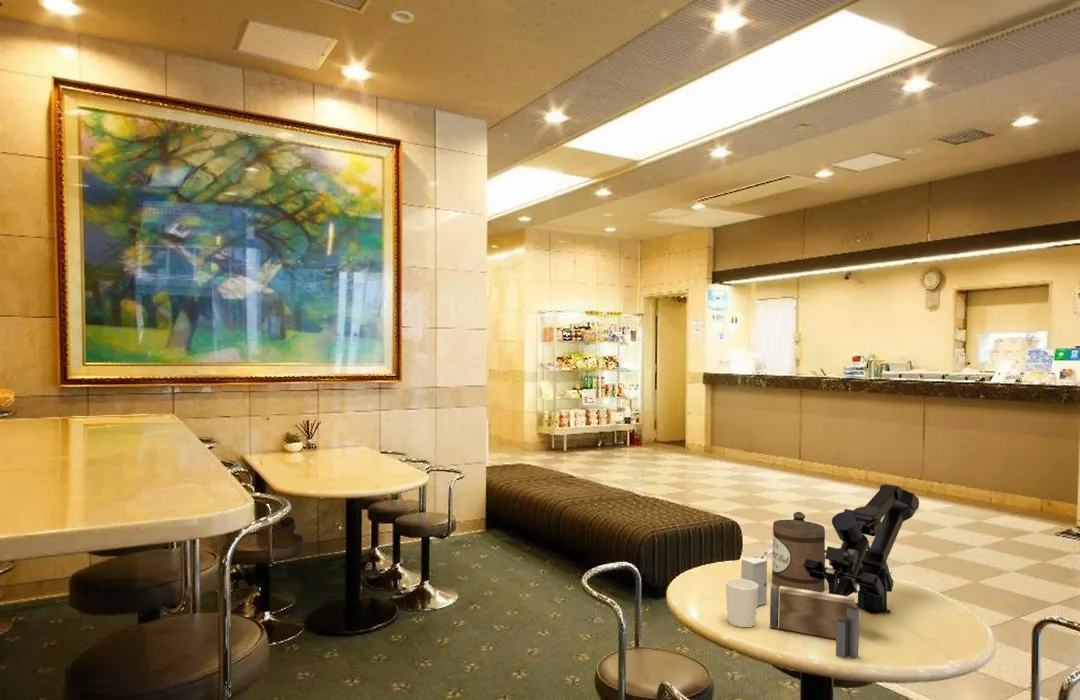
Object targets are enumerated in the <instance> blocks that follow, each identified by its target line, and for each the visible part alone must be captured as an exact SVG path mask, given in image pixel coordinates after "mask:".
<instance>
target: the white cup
mask: <svg viewBox="0 0 1080 700" xmlns="http://www.w3.org/2000/svg"><path fill="white" fill-rule="evenodd" d="M725 586H726V587H725V589H726V598H725V599H726V611H727V612H726V613H727V622H728V623H729V624H730V625H732V626H733V627H734V626H735V627H737V626H738V628H743V627H746V628H747V627H749V628H752V626H753V627H754V626H755V625H756V615H757V607H758V606H757V596H758V584H756V583H755V582H753V581H750V580H746V579H741V578H730V579H727V580H726V582H725ZM746 628H745V629H746Z"/></svg>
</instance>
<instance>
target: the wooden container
mask: <svg viewBox="0 0 1080 700" xmlns="http://www.w3.org/2000/svg"><path fill="white" fill-rule="evenodd" d="M792 515H793V516H792V517H793V519H777V520H774V521H773V524H772V556H771V557H772V558H771V569H772V570H771V578H772V580H771V582H773V583H774V584H775V585H777V586H779V587H780V586H784V587H791V588H797V589H803V590H810V591H816V592H822V593H823V592H824V591H825V588H826V585H825V584H826V579H823V580H818V579H814V578H811V577H810V576H809V575H808V573H807V572H806V570H805V568H804V566H803V563H804V561H805V560H806V559H807V558H812V559H816V560H819V561H821V562H822V563H823V565H824V567H826V559H825V556H826V547H825V546H826V545H825V543H826V540H825V536H826V530H825V529H826V528H825V527H824V526H823V525H821V524H819V523H815V522H812V521H806V520H805V518H806V515H805V514H804V513H803V512H801V511H796V512H794V513H793V514H792ZM773 583H772V584H773ZM774 584H773V585H774Z"/></svg>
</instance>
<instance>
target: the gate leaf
mask: <svg viewBox="0 0 1080 700" xmlns="http://www.w3.org/2000/svg"><path fill="white" fill-rule="evenodd" d="M855 599H856V597H853V596H841V595H835V594H829V592H823V591H822V592H816V591H810V590H803V589H797V588H791V587H784V586H780V588H779V586H777V585H774V584H771V585H770V601H769V602H770V605H769V606H770V607H769V626H770V627H771V628H774V629H775V628H778V629H782V630H788V631H793V632H797V633H798V632H799V633H802V634H808V635H809V634H810V635H813V636H814V635H815V636H819V637H825V638H832V639H836V625H837V620H838V619H842V620H845V621H847V607H849V606H853V607H856V605H855V603H856V600H855Z"/></svg>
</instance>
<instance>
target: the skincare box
mask: <svg viewBox="0 0 1080 700" xmlns="http://www.w3.org/2000/svg"><path fill="white" fill-rule="evenodd" d="M740 573H741V578H740V579H746V580H750V581H753V582H755V583H756V584H758V596H757V607H760V606H759V605H761V606H764V605H763V604H765V605H767V601H768V598H767V597H768V596H767V595H768V593H767V592H768V591H767V589H768V588H767V587H768V586H767V585H768V560H766V559H764V558H762V557H757V556H753V557H747V558H742V559H741V572H740Z"/></svg>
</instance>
